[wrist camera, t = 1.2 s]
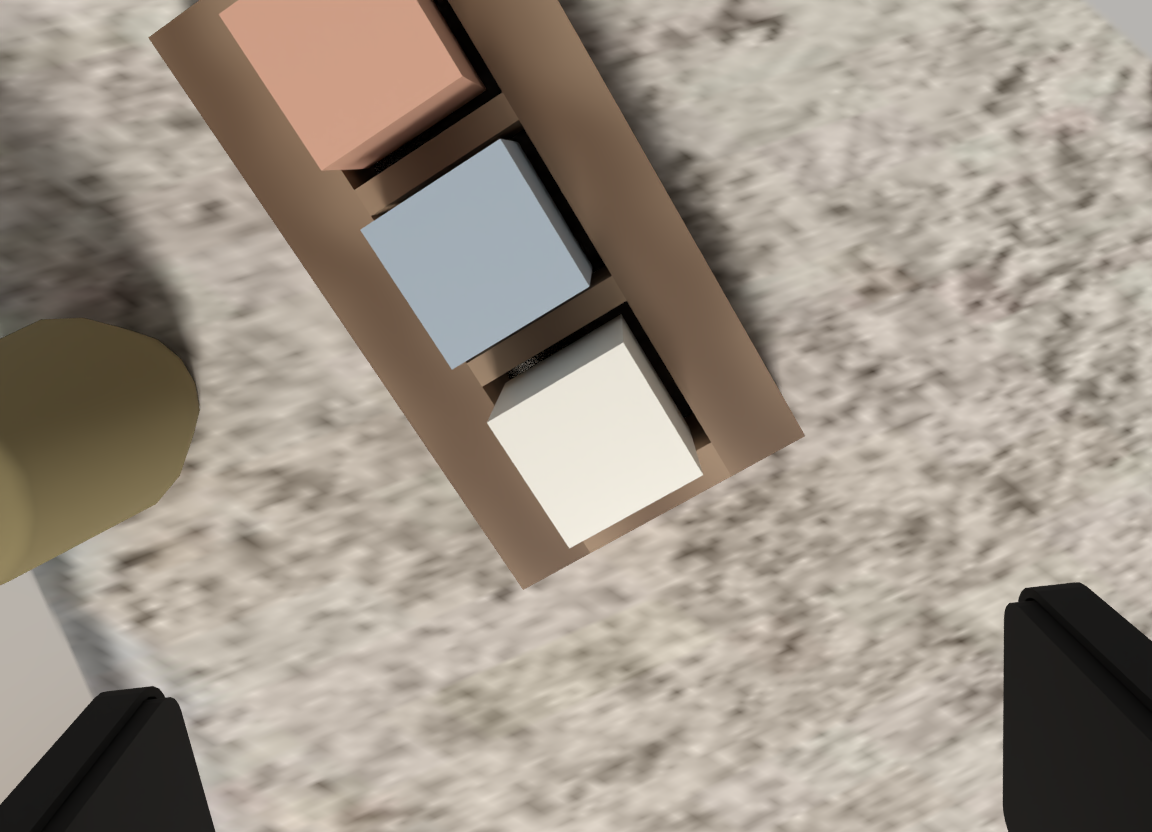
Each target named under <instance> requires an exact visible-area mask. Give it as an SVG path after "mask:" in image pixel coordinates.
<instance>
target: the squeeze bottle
mask: <svg viewBox="0 0 1152 832" xmlns="http://www.w3.org/2000/svg"><path fill="white" fill-rule="evenodd" d="M199 411H200V409H199V403H198V397H197V391H196V385H195V382H194V380H193V379H192V377H191V375H190V374H189V372H188V370H187V369H186V367H185V365H184V364H183V362H182V360H181V359H180V358H179V357H178V356H177V355H176V354H174V353H173V352H172V351H171V350H170V349H168V348H167V347H166V346H165V345H164V344H162V343H161V342H160V341H159V340H157V339H154V338H151V337H148V336H146V335H143V334H140V333H137V332H134V331H131V330H128V329H124V328H120V327H117V326H113V325H109V324H105V323H101V322H97V321H94V320H90V319H86V318H66V319H41V320H39V321H37V322H35V323H33V324H31V325H29V326H27V327H24V328H22V329H20V330H18V331H16V332H14V333H12V334H9V335H7V336H5V337H3V338H1V339H0V585H2V584H4V583H6V582H9V581H11V580H12V579H14V578H16V577H18V576H20V575H22V574H24V573H26V572H28V571H30V570H31V569H33V568H35V567H37V566H39V565H41V564H43V563H45V562H47V561H49V560H50V559H52V558H54V557H56V556H58V555H60V554H62V553H64V552H66V551H67V550H69V549H71V548H73V547H75V546H77V545H79V544H81V543H83V542H85V541H86V540H88V539H90V538H92V537H94V536H96V535H98V534H100V533H102V532H104V531H105V530H107V529H109V528H111V527H113V526H115V525H117V524H119V523H121V522H122V521H124V520H126V519H128V518H130V517H132V516H134V515H136V514H138V513H140V512H141V511H143V510H145V509H147V508H149V507H151V506H153V505H155V504H156V503H157V502H158V501H159V500H160V499H161V497H162V496H163V495H164V494H165V493H166V491H167V490H168V489H169V488H170V487H171V485H172V484H173V483H174V482H175V481H176V479H177V478H178V477H179V476H180V473H181V470H182V467H183V464H184V461H185V458H186V455H187V453H188V450H189V447H190V444H191V441H192V438H193V435H194V431H195V427H196V423H197V419H198V415H199Z"/></svg>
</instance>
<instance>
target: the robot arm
mask: <svg viewBox="0 0 1152 832" xmlns="http://www.w3.org/2000/svg"><path fill="white" fill-rule="evenodd" d="M1003 812H1004V817H1005V822H1006V825H1007V829H1008V832H1152V641H1151V640H1150V639H1149V638H1147V637H1146V636H1145V635H1144V634H1143V633H1141V632H1140V631H1139V630H1138V629H1137V628H1135V627H1134V626H1133V625H1132V624H1131V623H1130V622H1128V621H1127V620H1126V619H1125V618H1124V617H1122V616H1121V615H1120V614H1119V613H1118V612H1116V611H1115V610H1114V609H1113V608H1112V607H1110V606H1109V605H1108V604H1107V603H1106V602H1105V601H1103V600H1102V599H1101V598H1100V597H1099V596H1097V595H1096V594H1095V593H1094V592H1093V591H1091V590H1090V589H1089V588H1088V587H1087V586H1085V585H1083V584H1082V583H1080V582H1079V583H1066V584H1057V585H1048V586H1039V587H1030V588H1025V589H1024V590H1023V591H1022V592H1021V594H1020V596H1019V600H1018V602H1015V603H1009V604H1008V605H1007V606H1006V609H1005V614H1004V710H1003ZM0 832H215V829H214V825H213V822H212V818H211V815H210V811H209V808H208V804H207V801H206V797H205V793H204V790H203V786H202V783H201V779H200V776H199V772H198V769H197V765H196V762H195V758H194V754H193V751H192V747H191V744H190V740H189V737H188V733H187V730H186V726H185V722H184V719H183V715H182V712H181V709H180V706H179V704H178V702H177V701H176V700H175V699H174V698H171V697H168V698H165V696H164V694H163V693H162V692H161V691H160V689H159V688H156V687H154V686H151V687H142V688H133V689H124V690H115V691H107V692H102V693H100V694H99V695H98V696H96V697H95V698H94V699H93V700H92V702H91V703H90V704H89V705H88V706H87V707H86V708H85V709H84V711H83V712H82V713H81V714H80V715H79V716H78V718H77V719H76V720H75V721H74V722H73V723H72V724H71V725H70V727H69V728H68V729H67V730H66V731H65V732H64V733H63V734H62V736H61V737H60V738H59V739H58V740H57V741H56V742H55V743H54V745H53V746H52V747H51V748H50V749H49V750H48V752H46V754H45V755H44V756H43V757H42V758H41V759H40V760H39V762H38V763H37V764H36V765H35V766H34V767H33V768H32V769H31V771H30V772H29V773H28V774H27V775H26V776H25V777H24V779H23V780H22V781H21V782H20V783H19V784H18V785H17V786H16V788H15V789H14V790H13V791H12V792H11V793H10V794H9V795H8V797H7V798H6V799H5V800H4V801H3V802H2V803H1V805H0Z"/></svg>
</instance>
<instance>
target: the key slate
mask: <svg viewBox="0 0 1152 832" xmlns="http://www.w3.org/2000/svg"><path fill="white" fill-rule="evenodd" d="M361 232H362V233H363V235H364V236H365V238H366V239H367V241H368V243H369V244H370V246H371V247H372V249H373V250H374V252H375V253H376V255H377V256H378V258H379V259H380V261H381V262H382V264H383V265H384V267H385V268H386V270H387V271H388V273H389V274H390V276H391V278H392V279H393V281H394V282H395V284H396V285H397V287H398V288H399V290H400V291H401V293H402V294H403V296H404V297H405V299H406V300H407V302H408V303H409V305H410V306H411V308H412V310H413V311H414V313H415V314H416V316H417V317H418V319H419V320H420V322H421V323H422V325H423V326H424V328H425V329H426V331H427V332H428V334H429V335H430V337H431V338H432V340H433V341H434V343H435V345H436V346H437V348H438V349H439V351H440V352H441V354H442V355H443V357H444V358H445V360H446V361H447V363H448V364H449V366H450V367H451V369H454V368H456V367H457V366H459V365H461V364H462V363H464V362H465V361H467V360H469V359H470V358H472V357H474V356H475V355H477V354H479V353H480V352H482V351H484V350H485V349H487V348H489V347H490V346H492V345H494V344H495V343H497V342H499V341H500V340H502V339H504V338H505V337H507V336H508V335H510V334H512V333H513V332H515V331H517V330H518V329H520V328H522V327H523V326H525V325H527V324H528V323H530V322H532V321H533V320H535V319H537V318H538V317H540V316H542V315H543V314H545V313H547V312H548V311H550V310H551V309H553V308H555V307H556V306H558V305H560V304H561V303H563V302H565V301H566V300H568V299H570V298H571V297H573V296H575V295H576V294H578V293H580V292H581V291H583V290H585V289H586V288H588V287H589V286H590V280H591V274H592V268H593V266H592V265H591V263H590V261H589V260H588V258H587V256H586V255H585V253H584V251H583V250H582V248H581V246H580V244H579V243H578V241H577V239H576V238H575V236H574V234H573V233H572V231H571V229H570V228H569V226H568V224H567V223H566V221H565V219H564V218H563V216H562V214H561V213H560V211H559V209H558V208H557V206H556V204H555V203H554V201H553V199H552V198H551V196H550V194H549V193H548V191H547V189H546V188H545V186H544V184H543V183H542V181H541V179H540V178H539V176H538V174H537V173H536V171H535V169H534V168H533V166H532V164H531V163H530V161H529V159H528V158H527V156H526V154H525V153H524V151H523V149H522V148H521V146H520V144H519V143H518V142H515V141H510V140H505V139H499V140H497V141H496V142H494V143H493V144H491V145H490V146H488V147H487V148H485V149H484V150H482V151H481V152H479V153H477V154H476V155H474V156H473V157H471V158H470V159H468V160H467V161H465V162H464V163H462V164H461V165H459V166H457V167H456V168H454V169H453V170H451V171H450V172H448V173H447V174H445V175H444V176H442V177H441V178H439V179H437V180H436V181H434V182H433V183H431V184H430V185H428V186H427V187H425V188H424V189H422V190H421V191H419V192H417V193H416V194H414V195H413V196H411V197H410V198H408V199H407V200H405V201H404V202H402V203H401V204H399V205H397V206H396V207H394V208H393V209H391V210H390V211H388V212H387V213H385V214H384V215H382V216H381V217H379V218H377V219H376V220H374V221H373V222H371V223H370V224H368V225H367V226H365V227H364V228H362V229H361Z"/></svg>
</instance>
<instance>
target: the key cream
mask: <svg viewBox="0 0 1152 832" xmlns="http://www.w3.org/2000/svg"><path fill="white" fill-rule="evenodd" d="M487 424H488V425H489V427H490V428H491V430H492V431H493V433H494V434H495V436H496V437H497V439H498V440H499V442H500V444H501V445H502V447H503V448H504V450H505V451H506V453H507V454H508V456H509V457H510V459H511V460H512V462H513V463H514V465H515V466H516V468H517V469H518V471H519V472H520V474H521V475H522V477H523V479H524V480H525V482H526V483H527V485H528V486H529V488H530V489H531V491H532V492H533V494H534V495H535V497H536V498H537V500H538V501H539V503H540V504H541V506H542V507H543V509H544V511H545V512H546V514H547V515H548V517H549V518H550V520H551V521H552V523H553V524H554V526H555V527H556V529H557V530H558V532H559V533H560V535H561V536H562V538H563V539H564V541H565V542H566V544H567V546H568V547H569V548H571V547H573V546H575V545H577V544H578V543H580V542H582V541H584V540H586V539H588V538H589V537H591V536H593V535H595V534H597V533H599V532H600V531H602V530H604V529H606V528H608V527H609V526H611V525H613V524H615V523H617V522H619V521H620V520H622V519H624V518H626V517H628V516H630V515H631V514H633V513H635V512H637V511H639V510H640V509H642V508H644V507H646V506H648V505H650V504H651V503H653V502H655V501H657V500H659V499H660V498H662V497H664V496H666V495H668V494H670V493H671V492H673V491H675V490H677V489H679V488H681V487H682V486H684V485H686V484H688V483H690V482H691V481H693V480H695V479H697V478H699V477H701V476H702V475H703V473H702V469H701V466H700V462H699V459H698V456H697V452H696V449H695V445H694V442H693V439H692V435H691V432H690V428H689V426H688V425H687V423H686V421H685V420H684V418H683V416H682V415H681V413H680V411H679V410H678V408H677V406H676V405H675V403H674V401H673V400H672V398H671V396H670V395H669V393H668V391H667V390H666V388H665V386H664V385H663V383H662V381H661V380H660V378H659V376H658V375H657V373H656V371H655V370H654V368H653V366H652V365H651V363H650V361H649V360H648V358H647V356H646V355H645V353H644V351H643V350H642V348H641V346H640V345H639V343H638V341H637V340H636V338H635V336H634V335H633V333H632V331H631V330H630V328H629V326H628V325H627V323H626V321H625V320H624V318H623V316H622V315H621V314H620V315H619V316H617V317H615V318H614V319H612V320H610V321H609V322H607V323H605V324H604V325H602V326H600V327H599V328H597V329H595V330H594V331H592V332H590V333H588V334H587V335H585V336H583V337H582V338H580V339H578V340H577V341H575V342H573V343H572V344H570V345H568V346H567V347H565V348H563V349H562V350H560V351H558V352H557V353H555V354H553V355H551V356H550V357H548V358H546V359H545V360H543V361H541V362H540V363H538V364H536V365H535V366H533V367H531V368H530V369H528V370H526V371H525V372H523V373H521V374H519V375H518V376H516V377H514V378H513V379H511V380H509V381H508V382H506V383H505V385H504V387H503V389H502V391H501V393H500V396H499V398H498V400H497V402H496V404H495V406H494V408H493V411H492V413H491V415H490V417H489V419H488V421H487Z"/></svg>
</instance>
